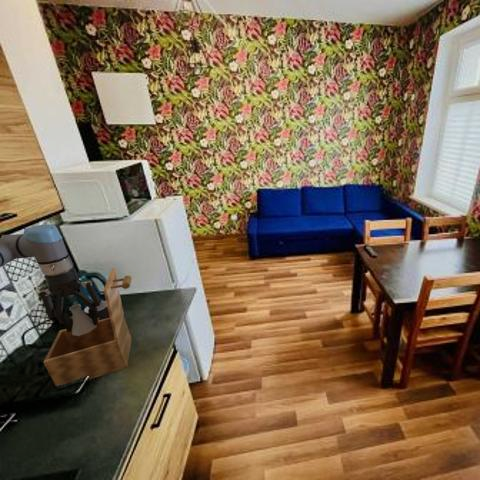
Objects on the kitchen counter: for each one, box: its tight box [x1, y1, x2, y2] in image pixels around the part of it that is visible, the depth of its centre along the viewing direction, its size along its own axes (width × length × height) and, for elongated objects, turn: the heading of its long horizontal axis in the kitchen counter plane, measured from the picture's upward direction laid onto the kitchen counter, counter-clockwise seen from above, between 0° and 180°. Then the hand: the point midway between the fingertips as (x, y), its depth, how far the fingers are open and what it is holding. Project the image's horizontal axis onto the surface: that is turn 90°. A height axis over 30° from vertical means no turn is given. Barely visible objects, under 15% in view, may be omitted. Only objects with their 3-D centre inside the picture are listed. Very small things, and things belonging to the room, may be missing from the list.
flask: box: [68, 303, 97, 336], centre depth 95 cm, size 7×7×10 cm
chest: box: [42, 315, 132, 387], centre depth 101 cm, size 20×17×13 cm
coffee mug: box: [83, 300, 110, 321], centre depth 121 cm, size 12×9×10 cm
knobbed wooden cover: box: [103, 267, 132, 340], centre depth 100 cm, size 21×17×6 cm
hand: (83, 326), depth 97 cm, fingers closed on flask, 7 cm apart
